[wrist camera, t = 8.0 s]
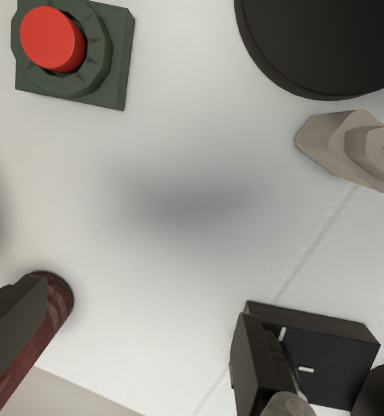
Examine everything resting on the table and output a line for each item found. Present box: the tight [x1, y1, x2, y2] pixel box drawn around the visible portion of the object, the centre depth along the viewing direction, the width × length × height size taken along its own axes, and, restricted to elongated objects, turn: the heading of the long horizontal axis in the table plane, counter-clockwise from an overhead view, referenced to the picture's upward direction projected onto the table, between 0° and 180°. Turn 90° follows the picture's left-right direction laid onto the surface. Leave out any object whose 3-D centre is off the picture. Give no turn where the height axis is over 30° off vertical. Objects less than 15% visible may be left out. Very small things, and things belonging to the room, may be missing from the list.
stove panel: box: [229, 301, 381, 411], centre depth 29 cm, size 13×8×3 cm, turn 79°
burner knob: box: [282, 348, 308, 403], centre depth 25 cm, size 4×4×5 cm
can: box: [0, 273, 73, 411], centre depth 23 cm, size 6×6×14 cm
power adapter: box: [294, 110, 384, 193], centre depth 19 cm, size 3×5×12 cm, turn 55°
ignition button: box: [20, 6, 85, 73], centre depth 20 cm, size 4×4×2 cm
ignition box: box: [11, 0, 135, 111], centre depth 22 cm, size 8×7×4 cm
